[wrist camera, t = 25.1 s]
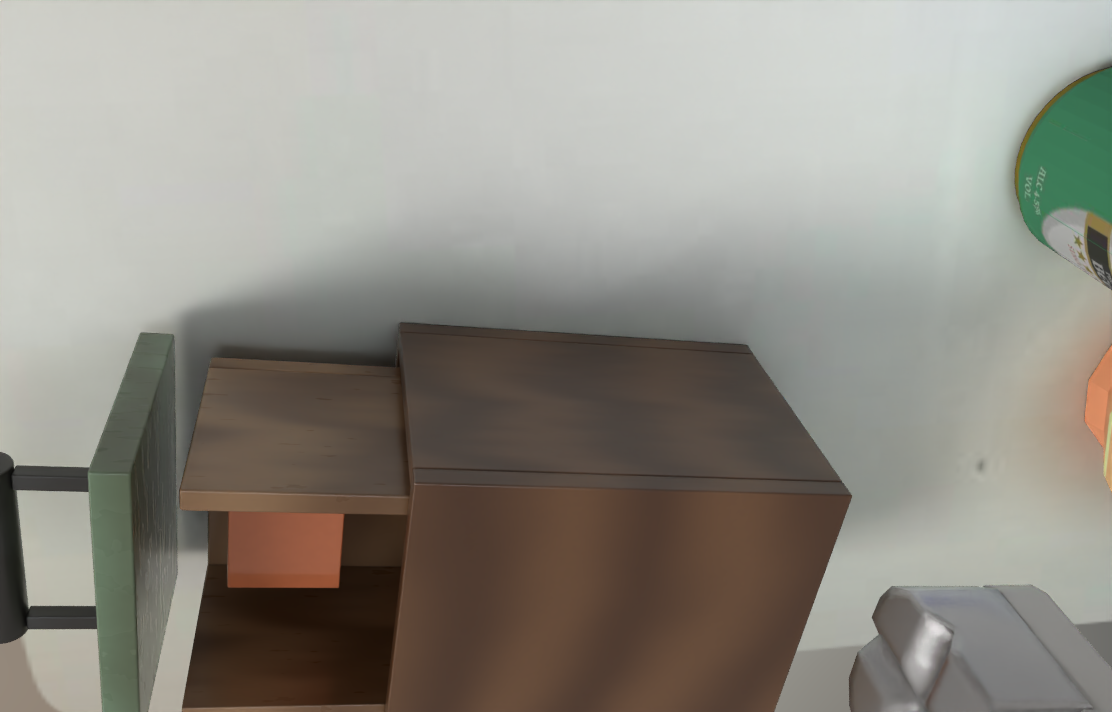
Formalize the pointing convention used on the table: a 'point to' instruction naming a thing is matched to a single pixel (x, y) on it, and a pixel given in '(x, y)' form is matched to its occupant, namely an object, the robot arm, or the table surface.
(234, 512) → the block
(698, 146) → the table surface
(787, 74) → the table surface
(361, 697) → the drawer
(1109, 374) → the potted cactus
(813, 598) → the cabinet
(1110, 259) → the beverage can
